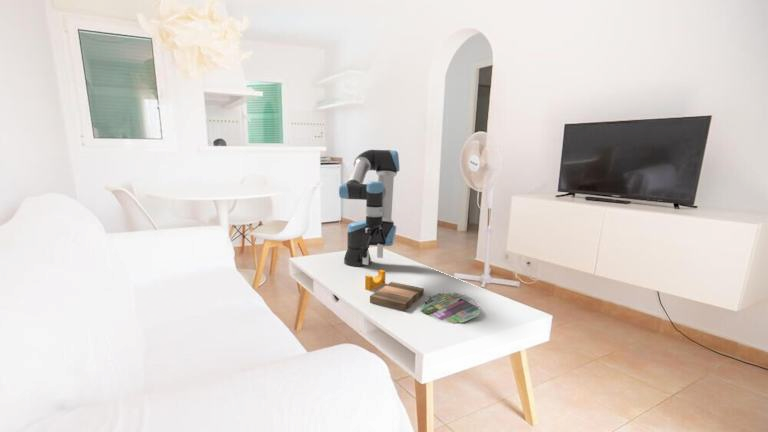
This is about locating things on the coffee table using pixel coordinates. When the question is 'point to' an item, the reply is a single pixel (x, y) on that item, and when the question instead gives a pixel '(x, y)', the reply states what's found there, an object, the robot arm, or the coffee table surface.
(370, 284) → the pipe clamp
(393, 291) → the board
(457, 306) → the city model
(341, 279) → the coffee table surface
